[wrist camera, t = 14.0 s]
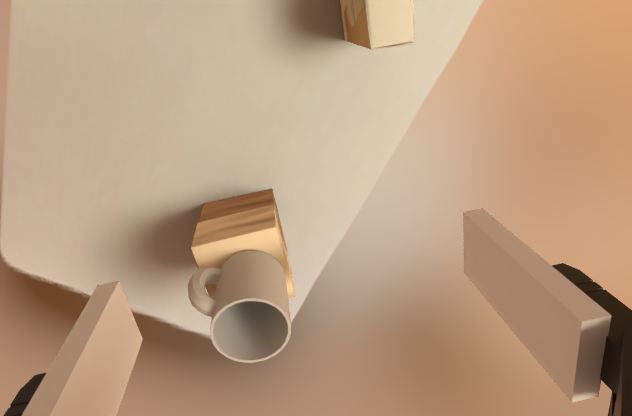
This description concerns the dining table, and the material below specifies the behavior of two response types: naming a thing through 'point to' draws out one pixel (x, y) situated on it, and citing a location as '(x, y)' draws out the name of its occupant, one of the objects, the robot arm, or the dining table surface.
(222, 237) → the beech block
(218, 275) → the cup
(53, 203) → the dining table surface
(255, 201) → the walnut block
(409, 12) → the skincare box
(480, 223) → the robot arm
